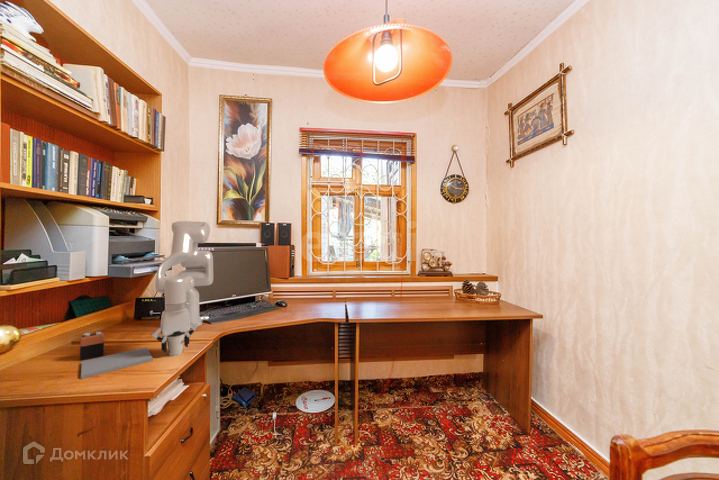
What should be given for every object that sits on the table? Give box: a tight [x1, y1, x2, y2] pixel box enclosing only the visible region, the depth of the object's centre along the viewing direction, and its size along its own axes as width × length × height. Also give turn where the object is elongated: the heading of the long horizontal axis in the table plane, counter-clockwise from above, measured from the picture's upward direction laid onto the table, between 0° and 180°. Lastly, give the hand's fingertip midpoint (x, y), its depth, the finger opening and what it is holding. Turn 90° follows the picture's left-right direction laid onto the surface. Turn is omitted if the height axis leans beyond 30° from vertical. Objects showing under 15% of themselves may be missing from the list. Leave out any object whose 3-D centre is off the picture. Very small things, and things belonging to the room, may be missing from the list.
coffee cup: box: [166, 331, 185, 357], centre depth 114 cm, size 7×7×10 cm
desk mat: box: [80, 346, 154, 379], centre depth 106 cm, size 20×16×1 cm
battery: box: [79, 331, 105, 361], centre depth 111 cm, size 4×7×10 cm, turn 130°
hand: (175, 348), depth 114 cm, fingers closed on coffee cup, 7 cm apart
